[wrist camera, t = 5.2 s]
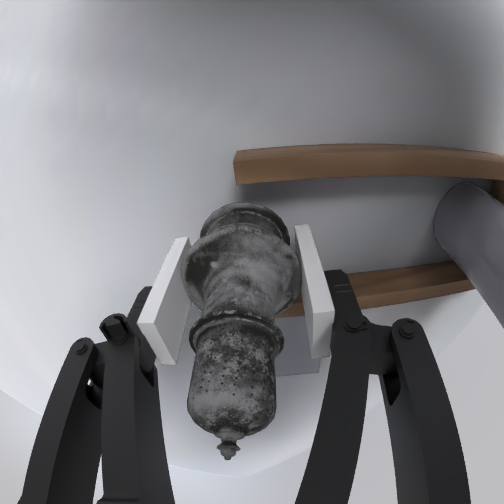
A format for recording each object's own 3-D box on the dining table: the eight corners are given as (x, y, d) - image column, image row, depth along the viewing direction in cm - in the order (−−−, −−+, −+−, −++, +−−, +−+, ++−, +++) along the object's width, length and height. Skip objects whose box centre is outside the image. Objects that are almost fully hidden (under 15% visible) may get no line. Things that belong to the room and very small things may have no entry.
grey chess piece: (298, 277, 18) (325, 471, 8) (208, 288, 18) (174, 472, 8) (289, 189, 15) (341, 416, 4) (183, 206, 15) (85, 410, 5)
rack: (236, 151, 15) (232, 161, 13) (504, 156, 13) (525, 166, 11) (256, 295, 20) (256, 319, 18) (478, 267, 19) (492, 284, 17)
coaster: (207, 310, 21) (206, 316, 21) (323, 302, 21) (325, 307, 20) (227, 373, 26) (227, 378, 26) (318, 367, 25) (318, 372, 25)
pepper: (439, 181, 15) (553, 281, 6) (490, 183, 15) (589, 265, 5) (427, 252, 18) (502, 366, 9) (476, 246, 18) (549, 339, 8)
